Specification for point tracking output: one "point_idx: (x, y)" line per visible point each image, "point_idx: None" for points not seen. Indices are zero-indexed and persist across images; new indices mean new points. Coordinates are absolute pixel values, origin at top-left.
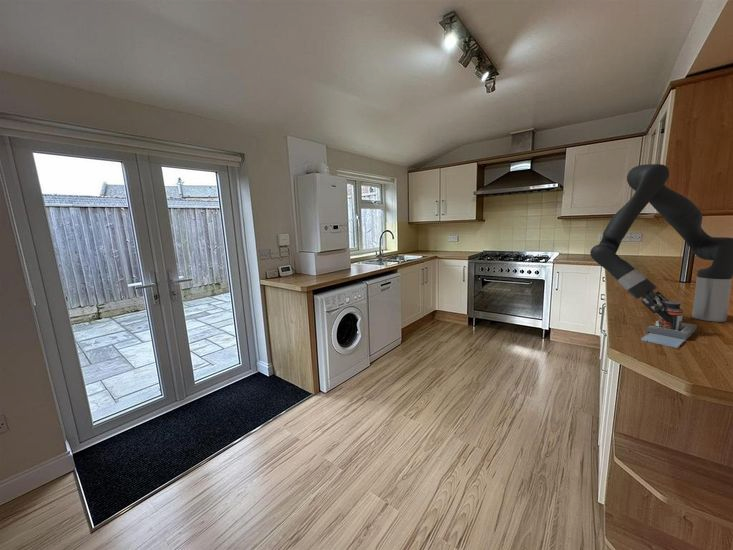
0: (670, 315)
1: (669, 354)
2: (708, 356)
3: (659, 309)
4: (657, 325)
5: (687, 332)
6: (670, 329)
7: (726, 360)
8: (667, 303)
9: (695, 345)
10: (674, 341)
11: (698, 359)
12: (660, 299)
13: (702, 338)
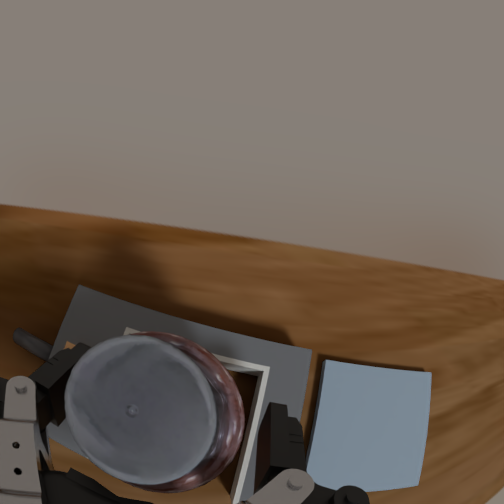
0: (275, 424)
1: (484, 379)
2: (436, 300)
3: (366, 497)
4: None
5: (271, 344)
6: (255, 415)
7: (432, 267)
8: (195, 464)
9: (351, 328)
10: (381, 390)
11: (471, 320)
12: (42, 494)
13: (216, 296)
